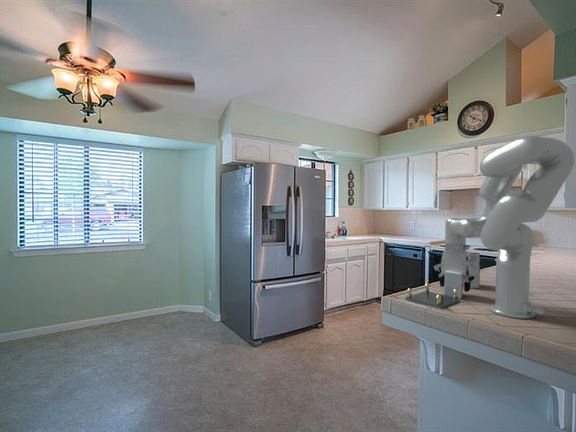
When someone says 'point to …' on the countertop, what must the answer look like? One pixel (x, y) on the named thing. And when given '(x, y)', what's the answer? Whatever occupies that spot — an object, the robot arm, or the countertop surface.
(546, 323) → the countertop surface
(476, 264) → the candy bar box
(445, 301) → the chassis
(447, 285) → the skincare box
